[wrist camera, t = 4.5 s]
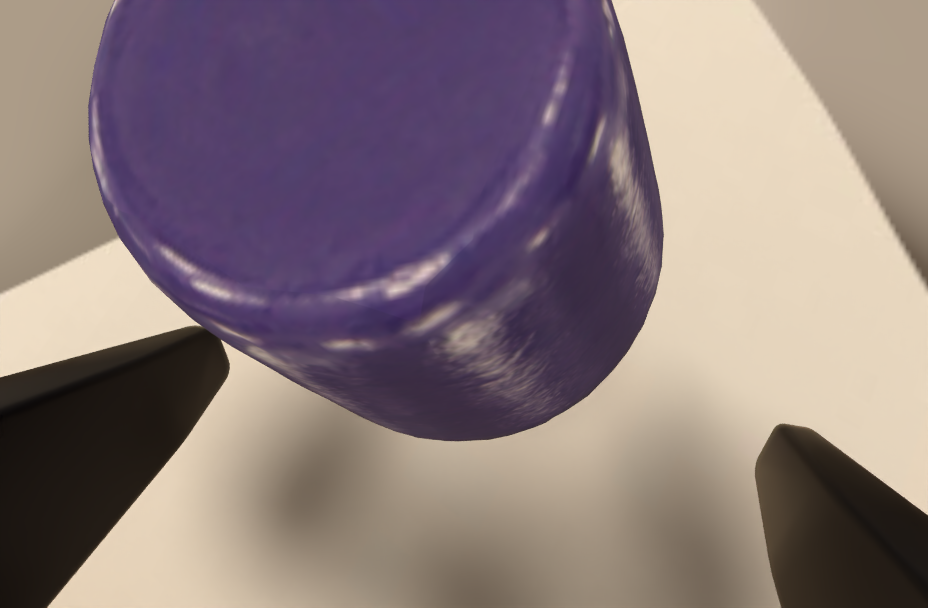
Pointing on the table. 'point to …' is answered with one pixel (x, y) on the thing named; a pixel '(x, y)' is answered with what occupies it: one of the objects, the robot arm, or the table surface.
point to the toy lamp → (389, 195)
